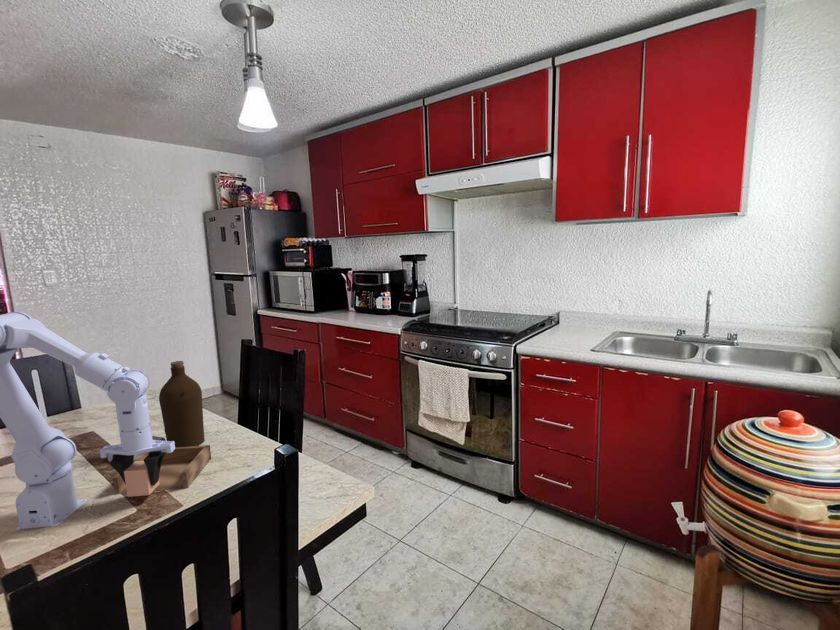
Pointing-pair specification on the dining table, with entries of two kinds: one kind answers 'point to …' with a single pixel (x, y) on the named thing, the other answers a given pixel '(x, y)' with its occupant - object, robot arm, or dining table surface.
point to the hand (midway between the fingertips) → (142, 483)
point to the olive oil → (182, 408)
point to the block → (138, 480)
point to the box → (175, 468)
